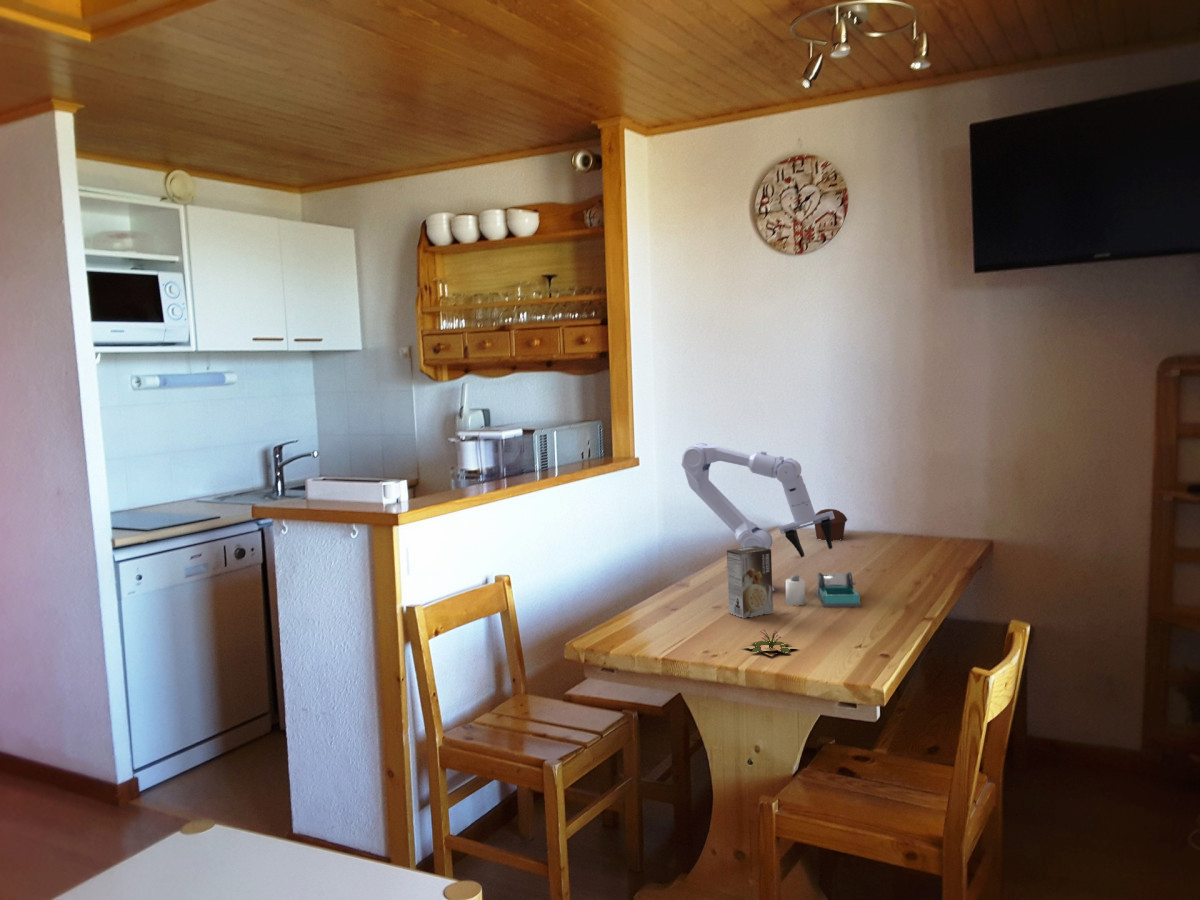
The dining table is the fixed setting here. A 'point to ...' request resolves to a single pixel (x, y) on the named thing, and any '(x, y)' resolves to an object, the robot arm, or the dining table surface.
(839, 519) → the muffin
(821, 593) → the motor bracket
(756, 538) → the robot arm
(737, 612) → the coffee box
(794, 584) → the white capped bottle
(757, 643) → the lily flower
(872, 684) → the dining table surface
